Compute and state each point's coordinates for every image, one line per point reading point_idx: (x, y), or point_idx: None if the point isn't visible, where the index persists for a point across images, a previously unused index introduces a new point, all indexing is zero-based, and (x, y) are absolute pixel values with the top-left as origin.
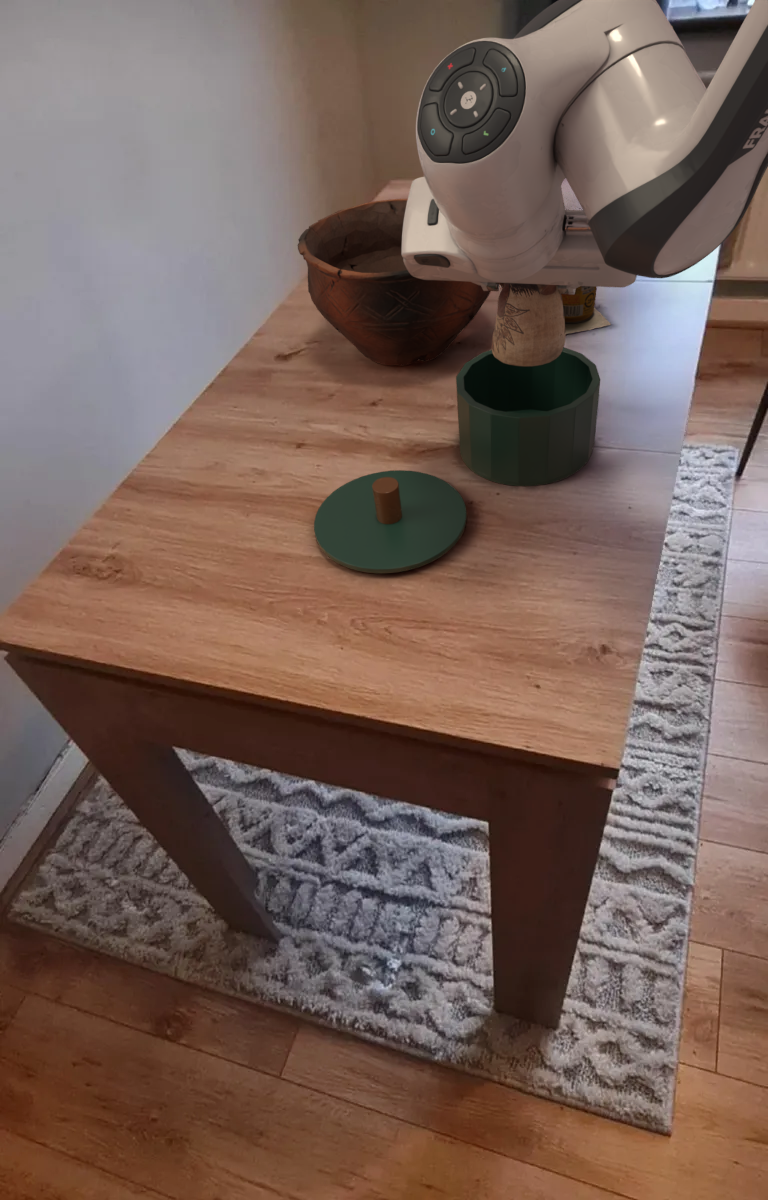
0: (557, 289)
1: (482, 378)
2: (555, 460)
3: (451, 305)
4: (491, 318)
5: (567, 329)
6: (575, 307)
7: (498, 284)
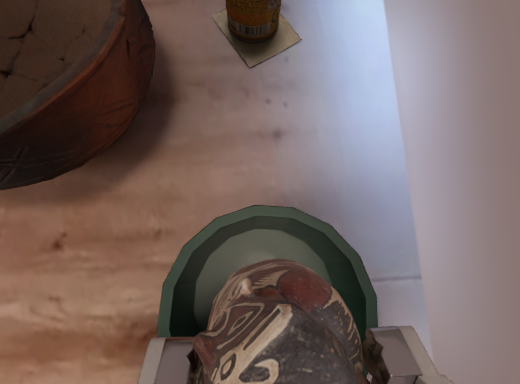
0: (362, 362)
1: (193, 264)
2: None
3: (102, 129)
4: (163, 40)
5: (256, 54)
6: (262, 27)
7: (197, 369)
